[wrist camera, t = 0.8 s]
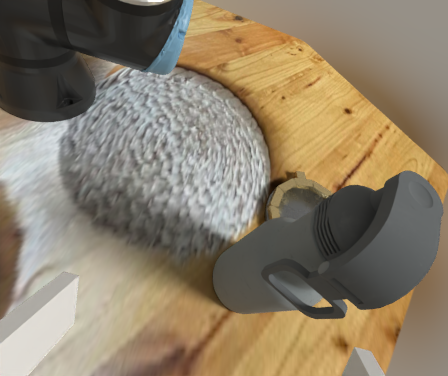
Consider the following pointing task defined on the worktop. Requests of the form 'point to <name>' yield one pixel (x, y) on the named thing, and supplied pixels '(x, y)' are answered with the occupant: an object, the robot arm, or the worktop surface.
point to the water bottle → (336, 252)
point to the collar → (295, 198)
